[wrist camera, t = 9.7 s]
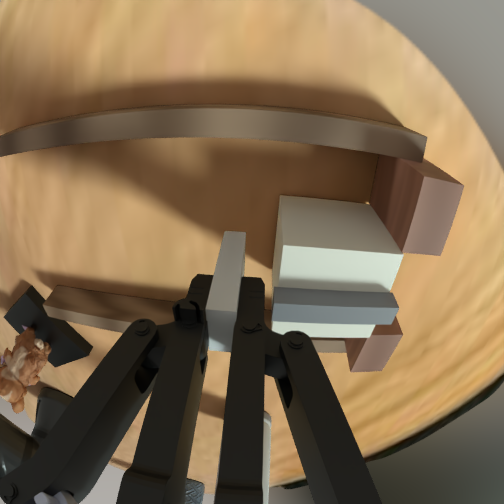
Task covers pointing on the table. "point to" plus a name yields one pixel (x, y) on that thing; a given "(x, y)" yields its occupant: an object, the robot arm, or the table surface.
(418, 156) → the guide
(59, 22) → the table surface
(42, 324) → the figurine
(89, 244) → the table surface
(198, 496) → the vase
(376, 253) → the block
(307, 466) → the robot arm
